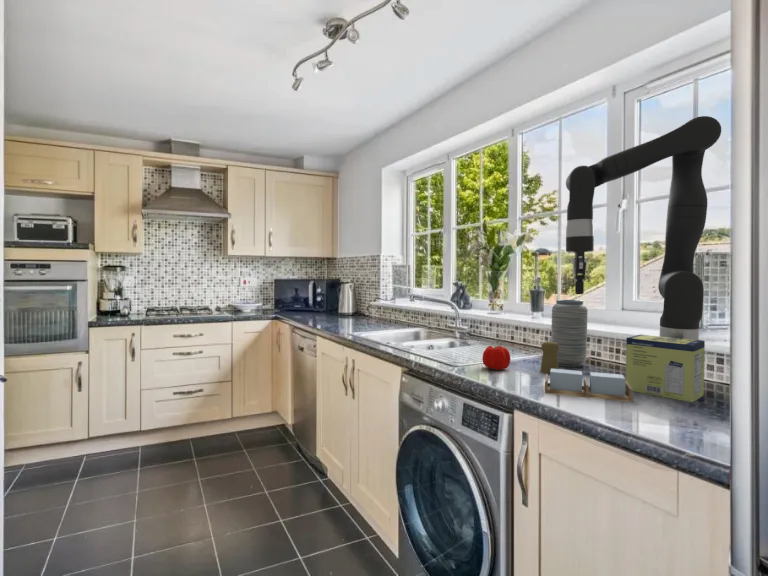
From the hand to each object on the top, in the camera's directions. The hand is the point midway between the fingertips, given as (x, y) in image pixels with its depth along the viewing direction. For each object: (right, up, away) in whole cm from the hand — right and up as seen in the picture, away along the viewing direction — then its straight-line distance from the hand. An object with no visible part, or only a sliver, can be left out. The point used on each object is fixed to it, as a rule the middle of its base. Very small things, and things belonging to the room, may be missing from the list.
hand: (579, 294), depth 129 cm
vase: (+8, -26, +25) cm, 37 cm away
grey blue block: (-10, -25, -15) cm, 31 cm away
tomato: (-20, -26, +18) cm, 37 cm away
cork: (-6, -26, +7) cm, 28 cm away
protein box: (+15, -27, -15) cm, 35 cm away
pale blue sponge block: (-1, -25, -18) cm, 31 cm away
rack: (-6, -27, -17) cm, 32 cm away
